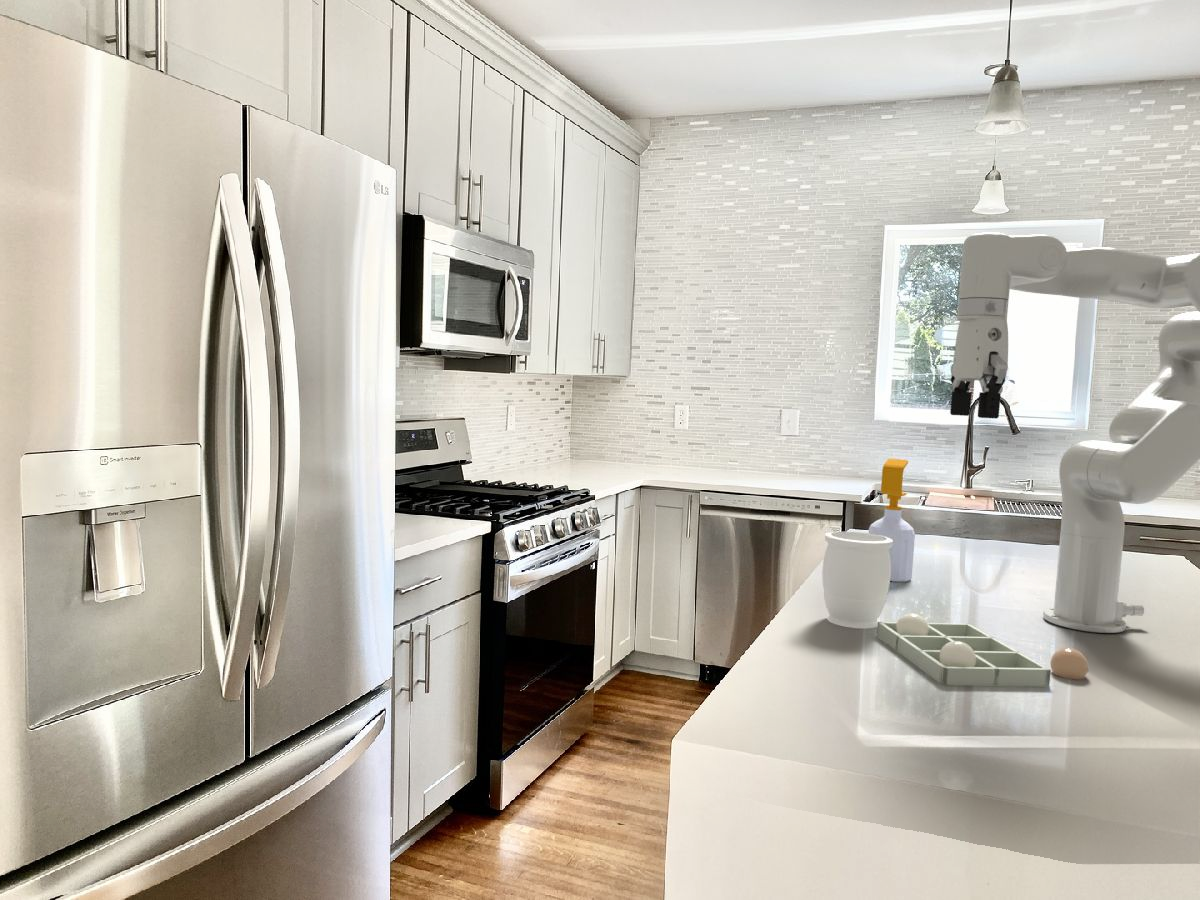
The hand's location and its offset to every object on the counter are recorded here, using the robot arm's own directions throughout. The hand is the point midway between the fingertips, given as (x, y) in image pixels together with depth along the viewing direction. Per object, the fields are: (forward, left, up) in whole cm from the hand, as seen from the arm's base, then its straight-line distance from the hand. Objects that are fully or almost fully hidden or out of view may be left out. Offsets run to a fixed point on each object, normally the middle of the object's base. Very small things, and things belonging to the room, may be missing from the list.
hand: (973, 416), depth 146 cm
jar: (+19, +2, -35) cm, 40 cm away
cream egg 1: (+14, +14, -34) cm, 40 cm away
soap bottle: (-3, -36, -35) cm, 50 cm away
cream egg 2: (+14, +28, -34) cm, 47 cm away
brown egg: (-2, +27, -35) cm, 44 cm away
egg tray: (+11, +21, -35) cm, 42 cm away
